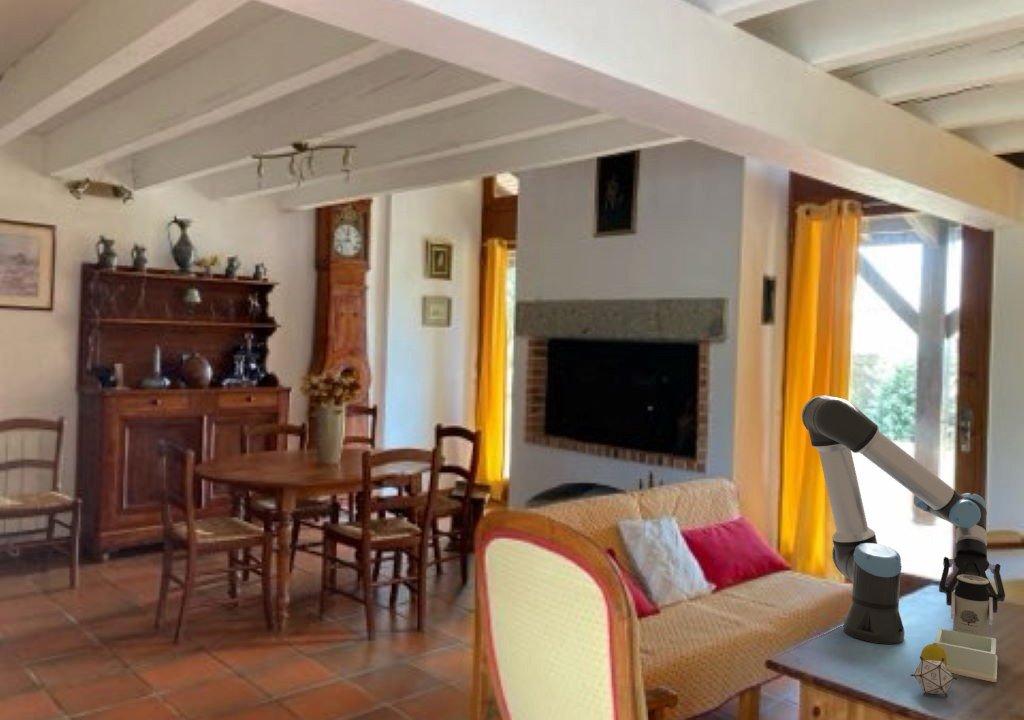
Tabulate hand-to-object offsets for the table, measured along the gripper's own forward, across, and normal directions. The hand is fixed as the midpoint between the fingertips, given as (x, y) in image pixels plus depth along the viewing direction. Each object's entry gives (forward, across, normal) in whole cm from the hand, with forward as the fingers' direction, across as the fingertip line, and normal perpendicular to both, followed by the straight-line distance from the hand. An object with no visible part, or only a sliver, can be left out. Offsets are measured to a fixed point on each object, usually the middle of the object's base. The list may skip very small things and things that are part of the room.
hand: (971, 619), depth 218 cm
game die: (+32, +9, +20) cm, 39 cm away
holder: (+14, +2, +2) cm, 14 cm away
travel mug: (+4, 0, -8) cm, 9 cm away
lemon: (+24, +9, +12) cm, 28 cm away
